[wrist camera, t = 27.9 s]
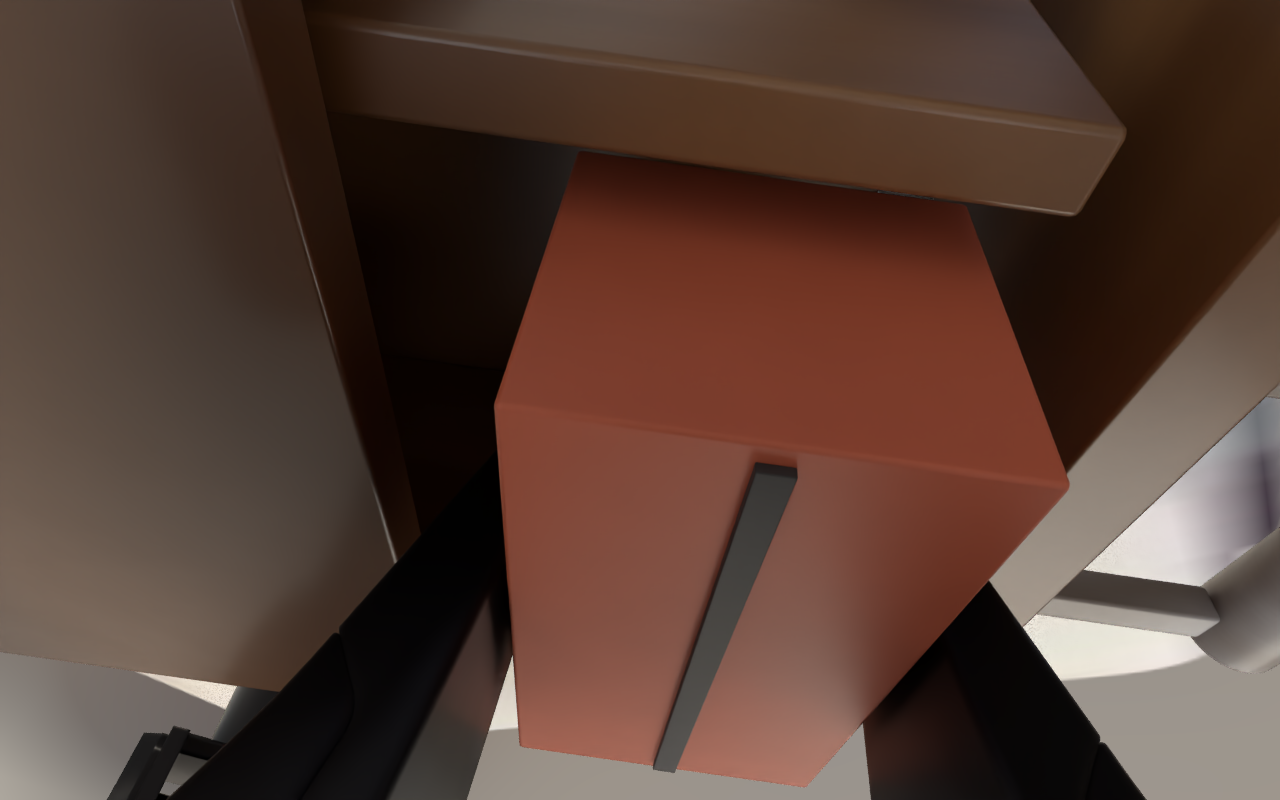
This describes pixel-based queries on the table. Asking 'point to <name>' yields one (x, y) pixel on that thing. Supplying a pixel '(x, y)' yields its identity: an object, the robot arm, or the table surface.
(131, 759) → the robot arm
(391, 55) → the drawer
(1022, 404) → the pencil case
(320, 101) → the cabinet
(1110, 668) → the table surface
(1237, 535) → the table surface
